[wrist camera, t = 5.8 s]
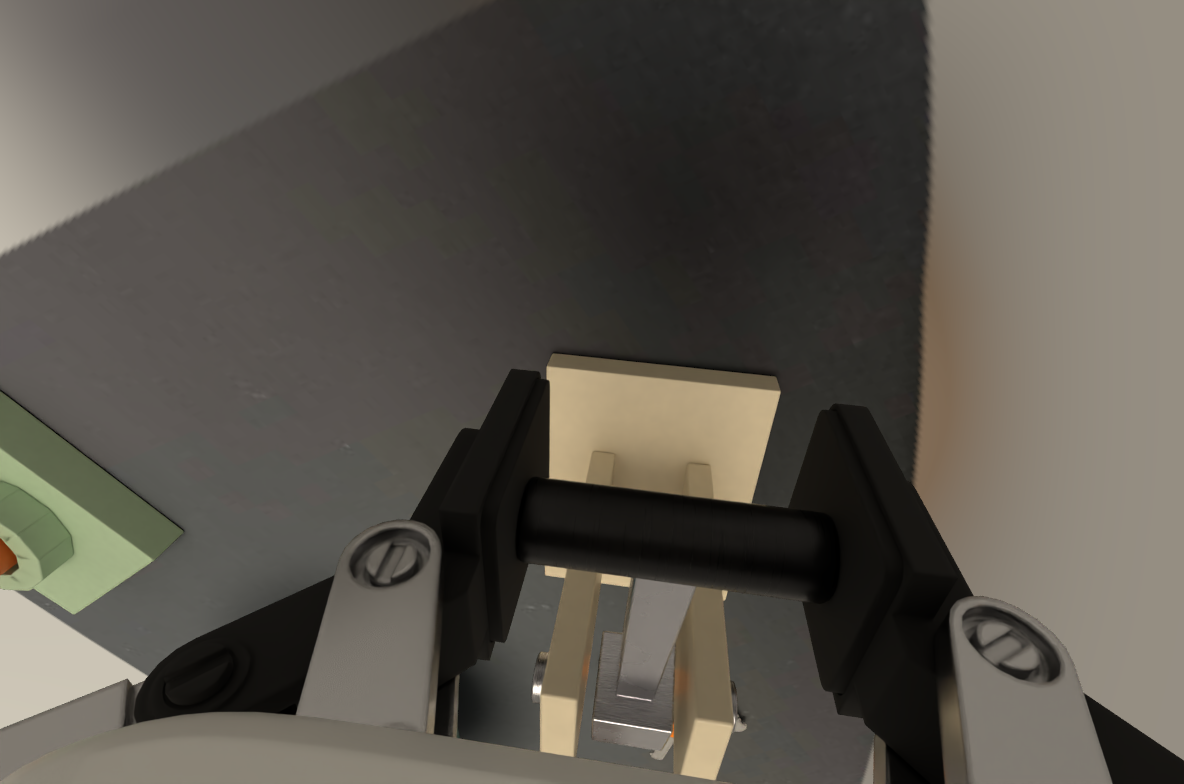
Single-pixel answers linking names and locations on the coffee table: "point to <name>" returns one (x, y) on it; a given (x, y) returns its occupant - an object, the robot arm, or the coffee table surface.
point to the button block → (68, 517)
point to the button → (6, 557)
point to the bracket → (662, 464)
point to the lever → (667, 577)
